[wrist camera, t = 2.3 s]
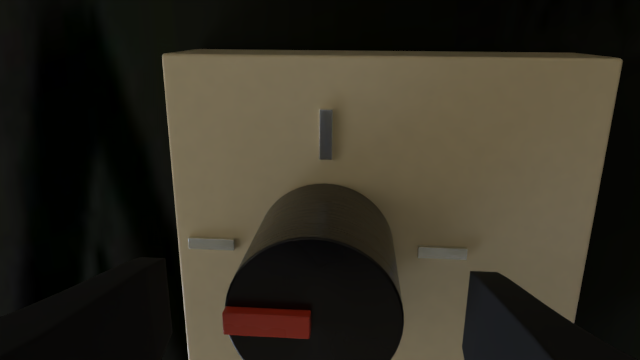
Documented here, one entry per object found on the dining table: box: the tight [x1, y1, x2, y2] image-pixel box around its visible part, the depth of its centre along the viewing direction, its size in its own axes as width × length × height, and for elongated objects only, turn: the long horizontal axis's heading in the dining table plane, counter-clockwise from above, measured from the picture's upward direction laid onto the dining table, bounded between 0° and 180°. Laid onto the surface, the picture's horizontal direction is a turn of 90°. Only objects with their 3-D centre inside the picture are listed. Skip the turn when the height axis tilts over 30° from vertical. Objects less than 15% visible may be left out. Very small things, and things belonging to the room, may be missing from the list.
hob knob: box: [222, 183, 404, 360], centre depth 12 cm, size 4×4×4 cm
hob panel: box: [162, 49, 623, 360], centre depth 16 cm, size 12×11×3 cm
